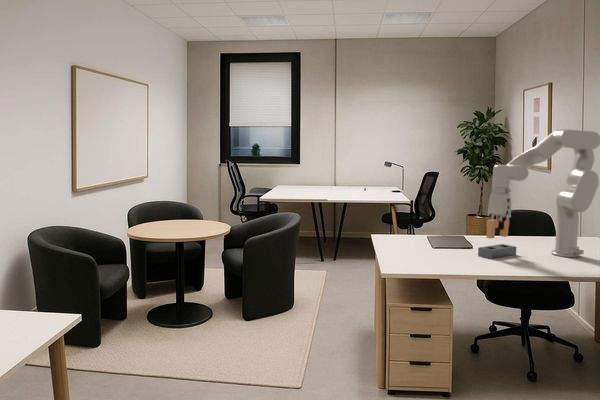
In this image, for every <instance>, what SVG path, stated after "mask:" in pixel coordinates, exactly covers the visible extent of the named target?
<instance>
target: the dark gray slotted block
mask: <svg viewBox="0 0 600 400" xmlns="http://www.w3.org/2000/svg"><path fill="white" fill-rule="evenodd" d="M516 255H517V246H514V245H510V244H505V243H504V244H503V243H501V244H494V245H487V246H480V247H478V249H477V256H478V257H481V258H487V259H491V260H492V259H499V258H505V257H511V256H512V257H513V256H516Z"/></svg>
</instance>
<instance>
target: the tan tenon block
mask: <svg viewBox="0 0 600 400" xmlns="http://www.w3.org/2000/svg"><path fill="white" fill-rule="evenodd" d="M510 221H511V220H510V219H509V218H508V219H507V220H506V221H504V229H503V230H499V236H500V237H504V238H505V237H508V235H509V227H510ZM499 222H500V218H497V219H491V218H490V219H486V225H485V226H486V227H485V228H486V238H487V239H495V233H496V229H495V228H497V229H498V227H499Z"/></svg>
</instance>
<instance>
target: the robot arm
mask: <svg viewBox="0 0 600 400" xmlns="http://www.w3.org/2000/svg"><path fill="white" fill-rule="evenodd" d="M599 147H600V134H599V133H598V132H596V131H592V130H577V129H576V130H575V129H568V128H566V129H563V128H561V129H555V130H554V131H552V132H551V133H550V134H548V135H547V136H546V137H545V138H543V139H542V140H541V141H539V142H538V143H537V144H536V145H534V147H532V148H530V149H528V150H526V151H524V152H523V153H520V154H519V155H517V156H516V157H514V158H513V159H512V160H511V161H509V162H508V163H507V164H494V166H493V167H492V183H491V193H490V196H489V200H488V205H487V211H486V214H487V216H489V218H490V220H491V219H498V216H499V219H500V222H499V227H497V228H495V230H496V229H498V230H499V231H500V230H503V229H504V221H506V220H507V219H509V218H511V217H512V214H511V213H512V200H511V194H510V193H511V189H510V181H516V182H522V181H525V180H526V179H528V177H529V174H530V171H529V169H528V168H529V167H531V166H534V165H538V164H541V163H544V162H546V161H547V160H549V159H550V158H551V157H552V156H554V155H555V154H556V153H557V152H559V151H560V150H562V148H568V149H569V148H570V149H573V152H574V160H573V163H572V165H571V168H570V170H569V173H568V174H567V175H568V176H567V177H566V178H567V180H566V182H567V185H568V186H569V187H570V188H573V189H574V190H573V189H572V190H571V189H564V190H562V191H560V192H559V193H558V194H557V196H556V199H555V203H556V204H555V205H556V229H555V230H556V231H555V249H553V250H551V255H554V256H557V257H564V258H579V257H580V256H581V255H582V256H583V255H584V253H585V250H583V249H580V246H578V238H579V237H578V234H579V222H580V220H579V219H580V218H579V213H583V212H585V211H587V210H588V209H589V208H590V206H591V205H592V202H593V200H594V198H595V195H596V193H597V189H598V187H599V184H600V178H599V175H598V173H596V172H595V171H594V170H593V166H594V162H595V153H594V151H593V150H595V149H597V148H599Z"/></svg>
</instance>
